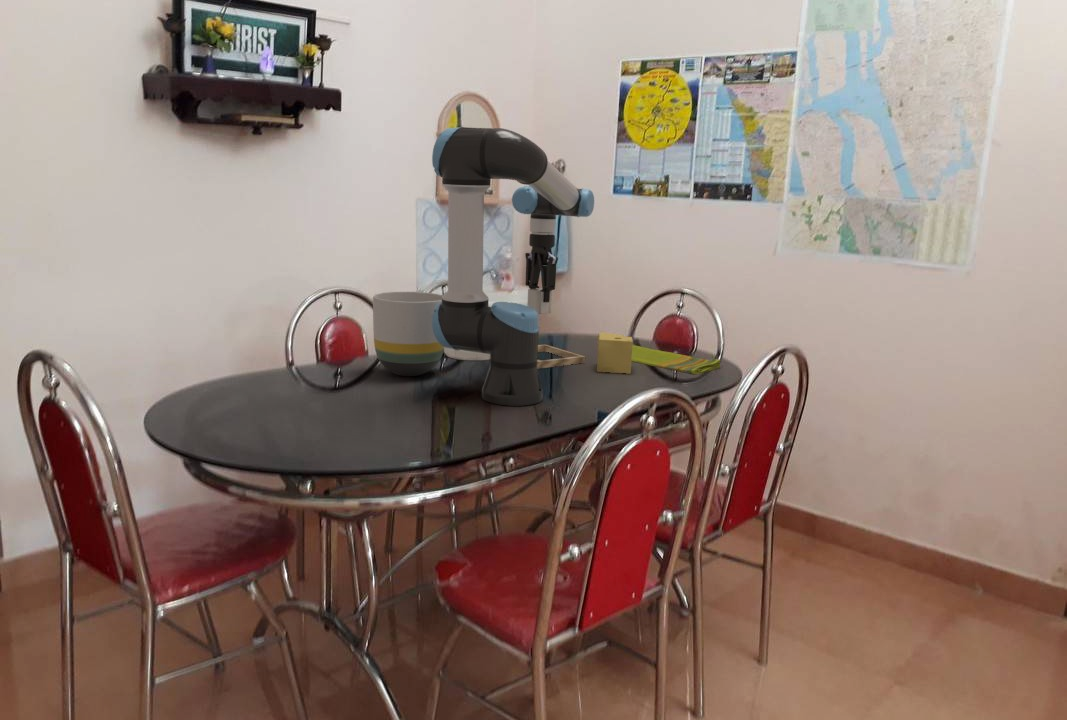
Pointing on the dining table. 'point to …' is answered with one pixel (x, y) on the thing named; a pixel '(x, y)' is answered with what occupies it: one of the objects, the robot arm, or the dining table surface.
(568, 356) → the wooden frame
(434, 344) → the planter
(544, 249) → the robot arm
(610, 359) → the cheese
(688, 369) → the dish towel
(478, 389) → the dining table surface
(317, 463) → the dining table surface
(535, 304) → the pale grey block
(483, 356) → the bowl
